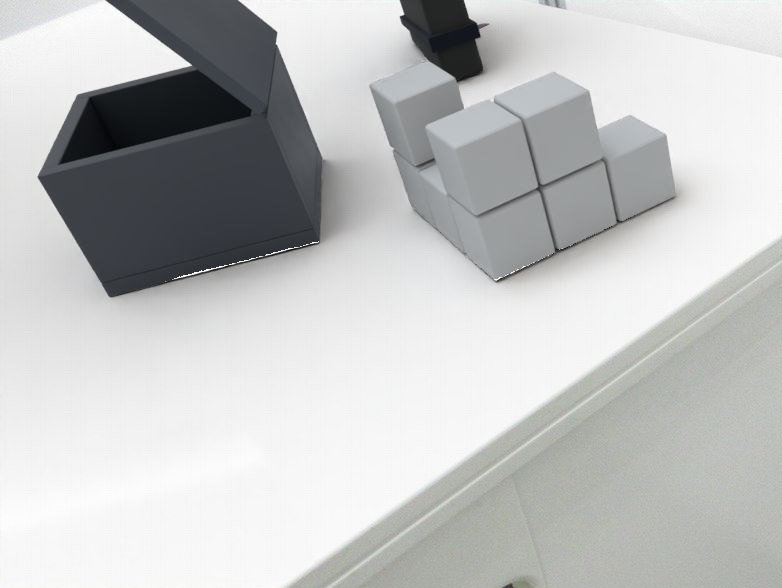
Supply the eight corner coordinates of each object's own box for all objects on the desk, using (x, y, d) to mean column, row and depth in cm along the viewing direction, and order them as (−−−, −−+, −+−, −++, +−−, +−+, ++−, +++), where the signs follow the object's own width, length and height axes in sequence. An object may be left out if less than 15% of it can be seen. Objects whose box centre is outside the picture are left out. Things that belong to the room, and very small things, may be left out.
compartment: (109, 297, 65) (36, 177, 60) (137, 206, 74) (76, 94, 69) (319, 243, 66) (266, 118, 60) (323, 158, 74) (277, 43, 69)
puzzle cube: (677, 196, 62) (655, 61, 57) (495, 283, 59) (453, 147, 53) (576, 134, 70) (548, 10, 65) (410, 207, 67) (367, 83, 61)
